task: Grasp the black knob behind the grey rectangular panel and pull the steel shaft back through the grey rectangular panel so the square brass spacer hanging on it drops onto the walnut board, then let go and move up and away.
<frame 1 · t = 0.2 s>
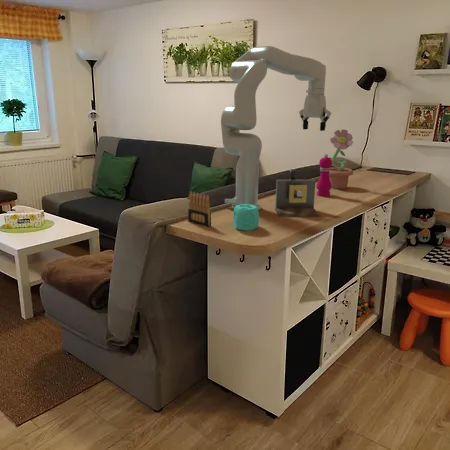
hand: (313, 129, 216), 31 cm above the table, tool pointing down, fingers open, 9 cm apart
shaft: (295, 182, 189), point 12 cm above the table, slide at 0.0 cm, touching spacer
ammunition clip: (199, 224, 172), on the table
decorative dice: (245, 228, 168), on the table
spacer: (297, 202, 187), point 5 cm above the table, touching shaft
base board: (294, 210, 193), on the table
pepper mill: (323, 195, 222), on the table
grey rectangular panel: (295, 193, 191), on the base board, point 7 cm above the table
decorative flower: (337, 188, 239), on the table
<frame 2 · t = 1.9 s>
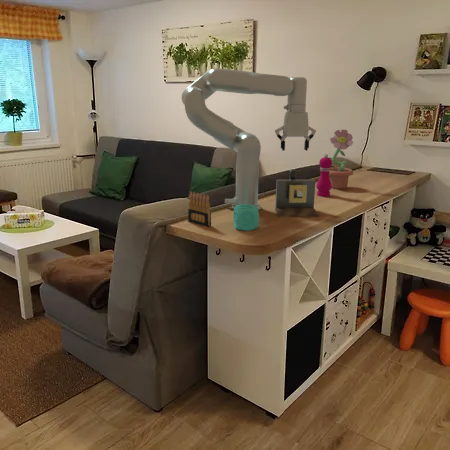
hand: (294, 150, 193), 24 cm above the table, tool pointing down, fingers open, 9 cm apart
nothing on the table moved.
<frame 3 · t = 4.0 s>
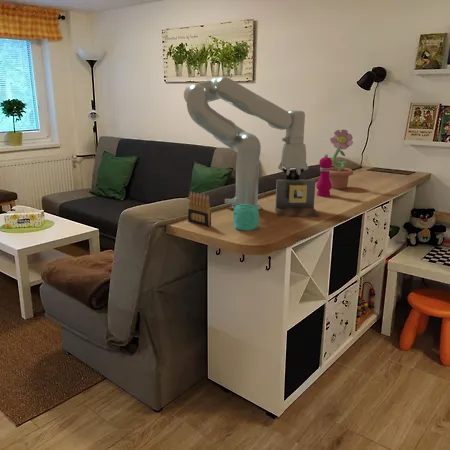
hand: (292, 183, 197), 10 cm above the table, tool pointing down, fingers closed on shaft, 2 cm apart
shaft: (295, 182, 189), point 12 cm above the table, slide at 0.0 cm, touching gripper, spacer
everything else where it was.
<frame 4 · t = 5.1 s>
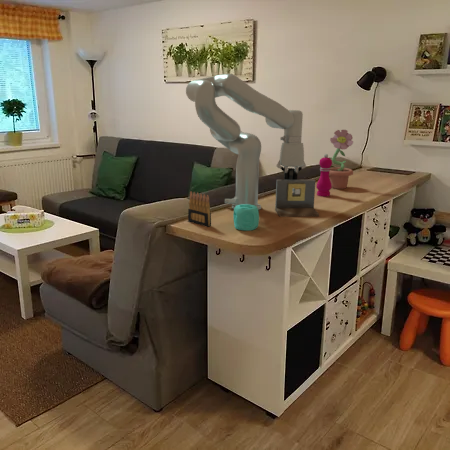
hand: (290, 181, 201), 10 cm above the table, tool pointing down, fingers closed on shaft, 2 cm apart
shaft: (293, 180, 193), point 12 cm above the table, slide at 4.4 cm, touching gripper
spacer: (295, 200, 190), point 5 cm above the table
everything else where it was.
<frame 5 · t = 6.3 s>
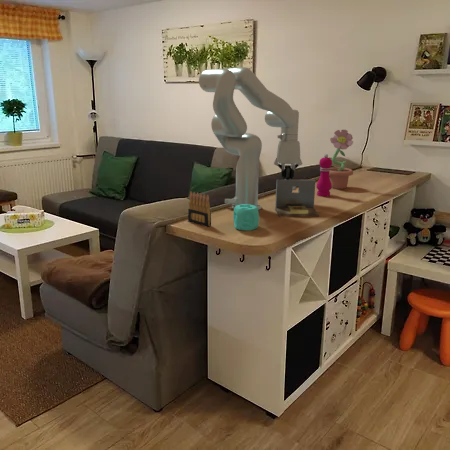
hand: (287, 178, 208), 10 cm above the table, tool pointing down, fingers closed on shaft, 2 cm apart
shaft: (290, 177, 201), point 12 cm above the table, slide at 12.2 cm, touching gripper
spacer: (295, 207, 189), point 2 cm above the table, tilted 90°, touching base board
everything else where it was.
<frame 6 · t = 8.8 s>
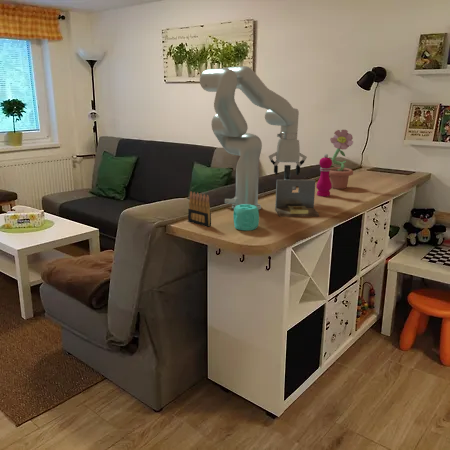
hand: (286, 174, 208), 12 cm above the table, tool pointing down, fingers open, 9 cm apart
shaft: (290, 176, 202), point 12 cm above the table, slide at 13.0 cm
everything else where it was.
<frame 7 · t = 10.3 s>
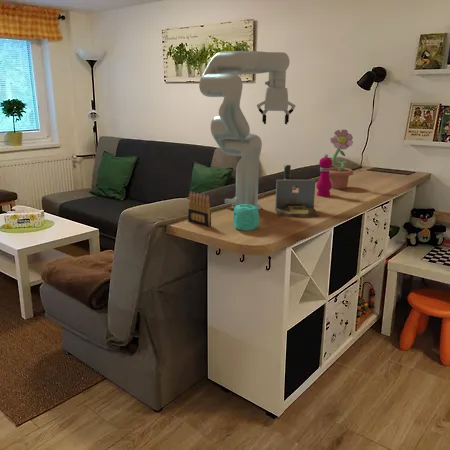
hand: (275, 124, 206), 34 cm above the table, tool pointing down, fingers open, 9 cm apart
nothing on the table moved.
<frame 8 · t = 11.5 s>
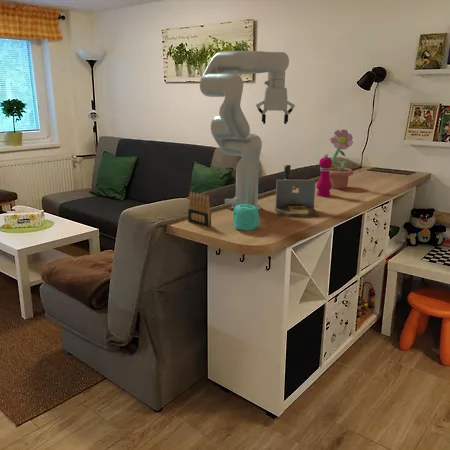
hand: (274, 123, 206), 34 cm above the table, tool pointing down, fingers open, 9 cm apart
nothing on the table moved.
at the end: spacer point 1.9 cm above the table; shaft slide at 13.0 cm; spacer touching base board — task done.
